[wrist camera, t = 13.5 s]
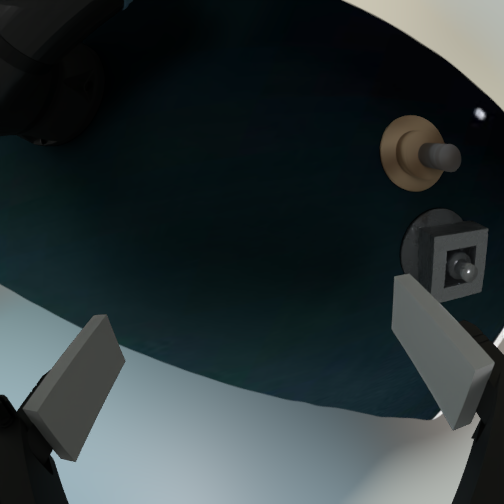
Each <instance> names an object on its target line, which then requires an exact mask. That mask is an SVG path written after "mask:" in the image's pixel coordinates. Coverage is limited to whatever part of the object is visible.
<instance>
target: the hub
mask: <svg viewBox="0 0 504 504" xmlns="http://www.w3.org/2000/svg"><path fill="white" fill-rule="evenodd" d="M458 222H463V220H462V219H461V218H460V217H459V216H458V215H457V214H456V213H455V212H453V211H451V210H448V209H445V208H433V209H430V210H427V211H425V212H423V213H422V214H420V215H419V216H418V217H417V218H416V219H415V220H414V221H413V222H412V223H411V224H410V226H409V227H408V229H407V231H406V233H405V235H404V237H403V240H402V244H401V249H400V261H401V266H402V269H403V272H404V274H410V275H411V276H412V277H413V278H414V279H416V280H417V281H418V261H419V228H423V227H430V226H437V225H444V224H451V223H458ZM445 273H448V274H449V275H450V276H452V277H453V278H454V279H464V280H465V281H466V282H468V283H471V282H473V281H474V280H475V279H476V277H477V274H478V269H477V267H476V266H474V265H473V264H471V259H470V257H469V256H468V255H467V254H466V253H464V252H462V251H461V250H460V249H455V250H450V251H447V257H446V271H445Z"/></svg>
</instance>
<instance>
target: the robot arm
mask: <svg viewBox="0 0 504 504" xmlns="http://www.w3.org/2000/svg"><path fill="white" fill-rule="evenodd" d="M132 1H133V0H0V136H7V135H17V136H19V137H21V138H23V139H25V140H27V141H29V142H31V143H33V144H36V145H40V146H53V145H60V144H64V143H66V142H69V141H71V140H72V139H74V138H75V137H77V136H78V135H79V134H80V133H82V132H83V131H84V130H85V128H86V127H87V126H88V125H89V124H90V122H91V121H92V119H93V118H94V116H95V114H96V112H97V110H98V108H99V106H100V103H101V100H102V96H103V92H104V84H105V76H104V69H103V65H102V62H101V60H100V58H99V56H98V55H97V53H96V52H95V51H94V50H93V49H91V48H90V47H88V46H87V45H85V44H82V43H81V42H82V41H83V40H84V39H85V38H86V37H88V36H89V35H90V34H91V33H92V32H94V31H95V30H96V29H97V28H98V27H100V26H101V25H102V24H103V23H105V22H106V21H107V20H109V19H110V18H111V17H113V16H114V15H115V14H117V13H118V12H119V11H121V10H125V9H126V8H127V7H128V5H129V3H131V2H132ZM392 330H393V332H394V334H395V335H396V337H397V338H398V340H399V341H400V343H401V344H402V346H403V348H404V349H405V351H406V352H407V354H408V355H409V357H410V359H411V360H412V362H413V364H414V365H415V367H416V368H417V370H418V372H419V373H420V375H421V377H422V378H423V380H424V382H425V383H426V385H427V387H428V388H429V390H430V392H431V393H432V395H433V397H434V398H435V400H436V402H437V404H438V405H439V407H440V409H441V411H442V412H443V414H444V416H445V418H446V419H447V421H448V423H449V425H450V426H451V428H452V430H456V429H458V428H461V427H463V426H466V425H468V424H470V423H471V422H472V419H473V417H474V415H475V413H476V412H477V414H478V415H479V417H480V418H481V420H480V422H479V424H478V426H477V428H476V430H475V432H474V434H473V436H472V438H473V439H474V441H473V445H472V449H471V452H470V455H469V458H468V461H467V464H466V467H465V470H464V473H463V476H462V479H461V481H460V484H459V487H458V489H457V492H456V494H455V497H454V499H453V502H452V504H504V355H503V354H502V352H501V351H500V350H499V349H498V348H497V347H496V346H495V345H494V344H493V343H492V342H491V341H489V339H488V338H487V337H486V336H485V335H483V333H482V332H481V330H480V329H479V328H478V327H477V326H476V325H474V324H472V323H470V322H468V321H466V320H463V321H460V322H457V321H456V320H455V319H454V317H453V316H452V315H451V314H450V313H449V312H448V311H447V310H446V309H445V308H444V307H443V306H442V305H441V304H440V303H439V302H438V301H437V300H436V299H435V298H434V297H433V296H432V295H431V294H430V293H429V292H428V291H427V290H426V289H425V288H424V287H423V286H422V285H421V284H420V283H419V282H418V281H417V280H416V279H414V278H413V277H412V276H411V275H410V274H405V275H399V276H394V297H393V315H392ZM124 363H125V359H124V356H123V354H122V352H121V350H120V347H119V344H118V342H117V340H116V337H115V335H114V332H113V330H112V327H111V325H110V322H109V319H108V317H107V314H106V315H94V316H93V317H92V318H91V319H90V321H89V322H88V323H87V324H86V325H85V327H84V328H83V329H82V330H81V332H80V333H79V334H78V335H77V337H76V338H75V339H74V340H73V342H72V343H71V344H70V345H69V347H68V348H67V349H66V351H65V352H64V353H63V354H62V356H61V357H60V358H59V360H58V361H57V362H56V363H55V365H54V366H53V367H52V369H51V370H50V371H48V372H47V373H46V374H45V375H43V376H42V378H41V379H40V380H39V382H38V383H37V386H35V387H34V388H33V390H32V392H30V394H29V395H28V397H27V398H26V399H25V401H24V402H23V403H22V405H21V406H20V408H19V409H18V411H17V412H16V410H15V409H14V407H13V406H12V404H11V403H10V401H9V400H8V398H7V397H6V396H5V395H0V504H69V503H68V501H67V498H66V495H65V493H64V490H63V487H62V484H61V481H60V478H59V475H58V472H57V468H56V465H55V462H54V460H53V458H52V457H51V455H50V454H51V452H52V450H54V451H55V452H56V454H58V456H59V457H60V458H61V459H65V460H69V461H74V462H76V460H77V458H78V456H79V454H80V451H81V449H82V447H83V445H84V443H85V441H86V439H87V437H88V434H89V432H90V430H91V428H92V426H93V424H94V422H95V420H96V418H97V416H98V414H99V412H100V410H101V408H102V406H103V404H104V402H105V400H106V398H107V396H108V394H109V392H110V390H111V388H112V386H113V384H114V382H115V380H116V378H117V376H118V374H119V372H120V370H121V368H122V367H123V365H124Z"/></svg>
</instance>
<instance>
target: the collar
mask: <svg viewBox="0 0 504 504" xmlns="http://www.w3.org/2000/svg"><path fill="white" fill-rule="evenodd" d="M487 239H488V228H486V227H484V226H482V225H480V224H478V223H476V222H473V221H465V222H458V223H451V224H444V225H437V226H430V227H423V228H419V261H418V282H419V283H420V284H421V285H422V286H423V287H424V288H425V289H426V290H427V291H428V292H429V293H430V294H431V295H432V296H433V297H434V298H435V299H436V300H437V301H438V302H439V303H441V302H445V301H449V300H453V299H456V298H460V297H464V296H468V295H471V294H475V293H479V292H481V290H482V283H483V276H484V269H485V260H486V250H487ZM455 249H460V250H461V251H462V252H464V253H466V254H467V255H468V256H469V257H470V259H471V264H473V265H474V266H476V267H477V269H478V274H477V277H476V279H475V280H474V281H473V282H471V283H468V282H466V281H465V280H464V279H454V278H453V277H452V276H450V275H449V274H448V273H445V271H446V257H447V251H450V250H455Z"/></svg>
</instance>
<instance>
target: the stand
mask: <svg viewBox="0 0 504 504" xmlns="http://www.w3.org/2000/svg"><path fill="white" fill-rule="evenodd" d="M380 159H381V163H382V166H383V169H384V171H385V173H386V174H387V176H388V177H389V179H390V180H391V181H392V182H393V183H394V184H396V185H397V186H399V187H400V188H403V189H405V190H409V191H423V190H426V189H428V188H430V187H431V186H432V185H434V184H435V183H436V182H437V180H438V179H439V178H440V176H441V174H442V173H443V171H447V172H454V171H456V170H457V169H458V168H459V166H460V163H461V155H460V152H459V150H458V148H457V147H456V146H454V145H452V144H445V143H444V141H443V139H442V137H441V134H440V133H439V131H438V130H437V128H436V127H435V126H434V125H433V124H432V123H431V122H429V121H428V120H426V119H424V118H422V117H419V116H413V115H410V116H403V117H400V118H397V119H396V120H394V121H393V122H392V123H390V124H389V126H388V127H387V128H386V130H385V131H384V133H383V136H382V139H381V143H380Z"/></svg>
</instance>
